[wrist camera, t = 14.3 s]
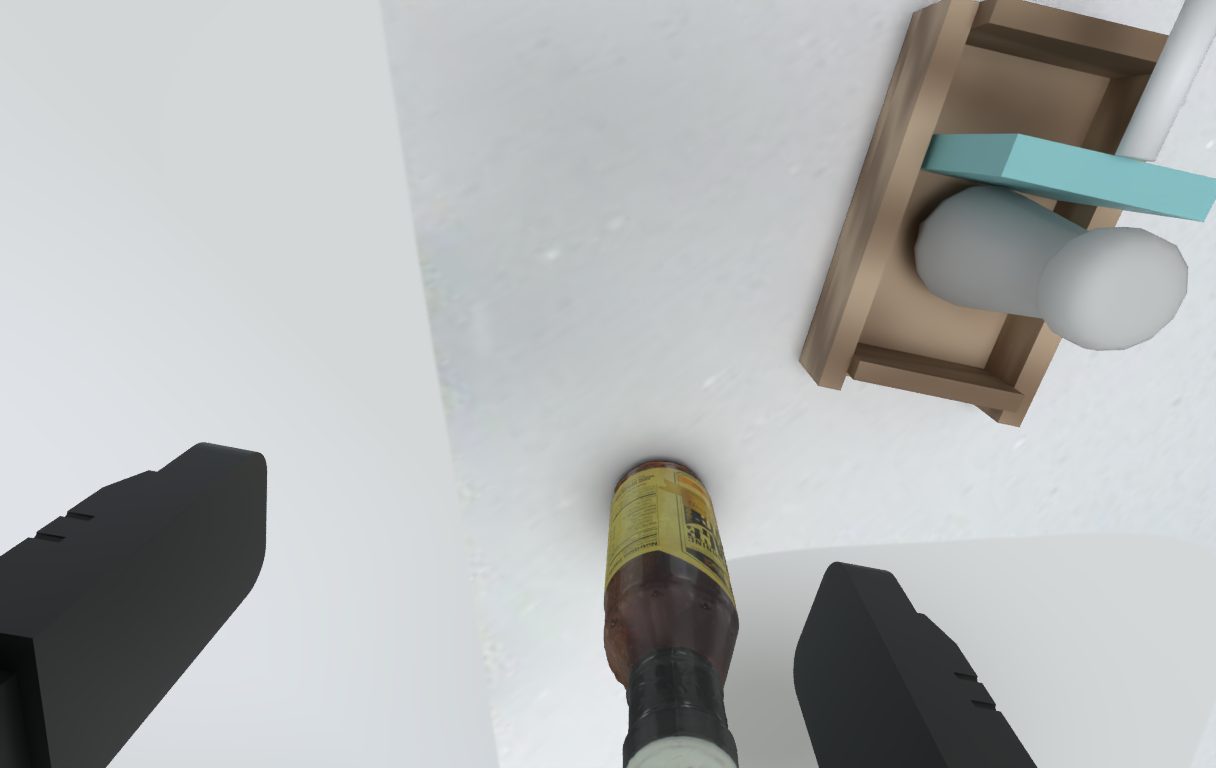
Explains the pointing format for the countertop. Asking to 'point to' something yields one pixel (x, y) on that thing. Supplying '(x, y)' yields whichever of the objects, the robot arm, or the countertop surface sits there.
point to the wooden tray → (905, 195)
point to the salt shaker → (1050, 268)
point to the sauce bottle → (669, 619)
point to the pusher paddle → (1093, 174)
